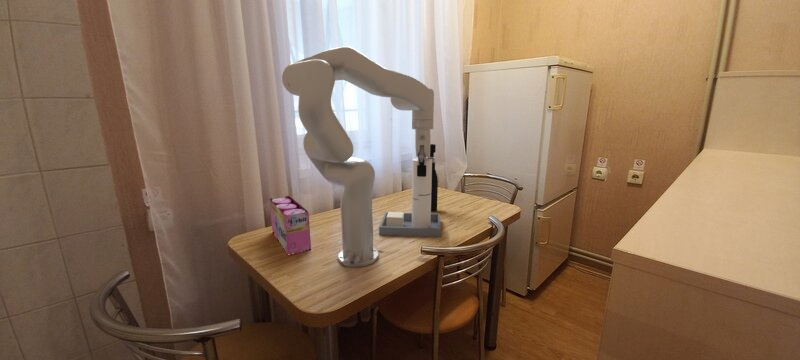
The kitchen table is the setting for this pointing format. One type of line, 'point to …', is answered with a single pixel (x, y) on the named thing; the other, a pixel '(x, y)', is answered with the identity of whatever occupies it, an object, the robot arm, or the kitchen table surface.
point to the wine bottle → (433, 180)
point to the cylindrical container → (421, 195)
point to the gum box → (290, 224)
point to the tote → (411, 227)
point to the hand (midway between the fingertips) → (421, 173)
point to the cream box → (395, 219)
